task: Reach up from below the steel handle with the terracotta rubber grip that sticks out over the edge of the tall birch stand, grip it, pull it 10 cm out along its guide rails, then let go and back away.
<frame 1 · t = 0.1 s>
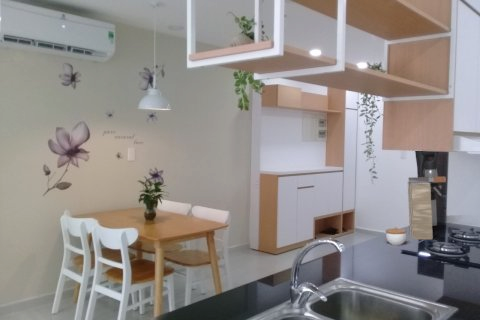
hand: (432, 201, 273), 17 cm above the counter, tool pointing down, fingers open, 8 cm apart
birch stand: (420, 236, 250), on the counter
breaker handle: (428, 179, 248), point 34 cm above the counter, slide at 0.0 cm
lidded jar: (396, 244, 234), on the counter
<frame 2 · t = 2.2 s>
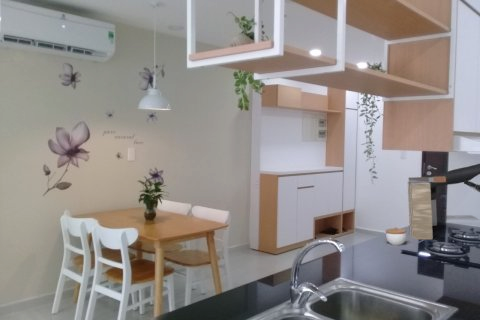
hand: (466, 182, 243), 31 cm above the counter, tool pointing upward, fingers open, 8 cm apart
nothing on the counter moved.
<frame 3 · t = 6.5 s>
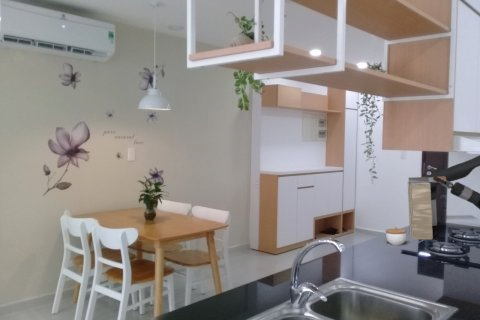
hand: (433, 177, 248), 35 cm above the counter, tool pointing upward, fingers closed on breaker handle, 3 cm apart
breaker handle: (428, 179, 248), point 34 cm above the counter, slide at 0.0 cm, touching gripper
everything else where it was.
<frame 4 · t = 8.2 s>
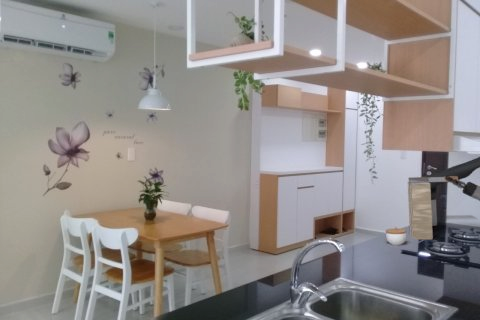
hand: (445, 176, 246), 35 cm above the counter, tool pointing upward, fingers closed on breaker handle, 3 cm apart
breaker handle: (439, 179, 247), point 34 cm above the counter, slide at 6.4 cm, touching gripper
everything else where it was.
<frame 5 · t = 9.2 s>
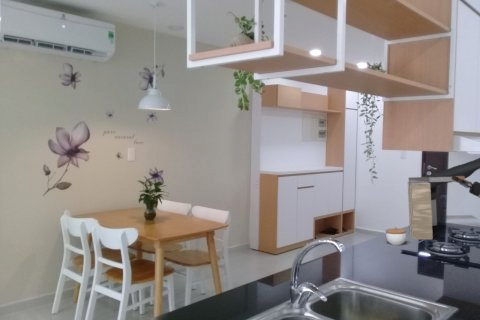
hand: (451, 176, 245), 35 cm above the counter, tool pointing upward, fingers closed on breaker handle, 3 cm apart
breaker handle: (446, 179, 246), point 34 cm above the counter, slide at 9.9 cm, touching gripper
everything else where it was.
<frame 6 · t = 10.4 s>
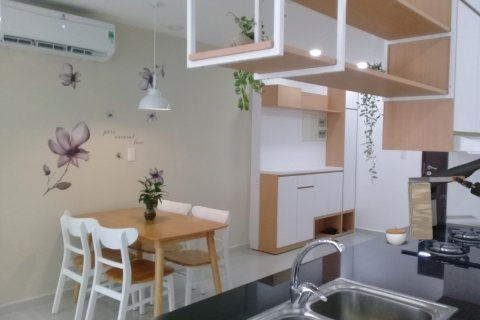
hand: (454, 177, 245), 34 cm above the counter, tool pointing upward, fingers open, 8 cm apart
breaker handle: (446, 179, 246), point 34 cm above the counter, slide at 10.0 cm
everything else where it was.
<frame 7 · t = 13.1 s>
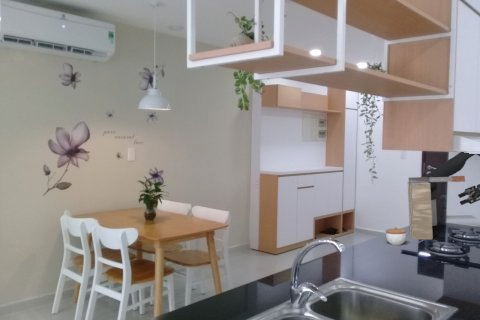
hand: (459, 199, 244), 21 cm above the counter, tool tilted 65°, fingers open, 8 cm apart
nothing on the counter moved.
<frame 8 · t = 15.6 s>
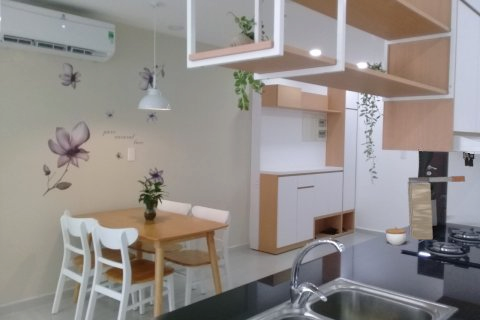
hand: (469, 166, 252), 40 cm above the counter, tool pointing down, fingers open, 8 cm apart
nothing on the counter moved.
at the end: breaker handle slide at 10.0 cm; the gripper is holding nothing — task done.
